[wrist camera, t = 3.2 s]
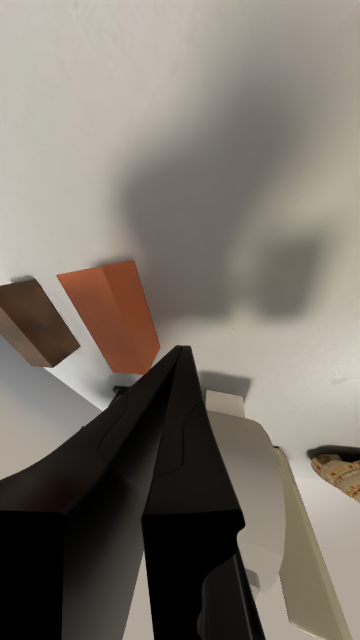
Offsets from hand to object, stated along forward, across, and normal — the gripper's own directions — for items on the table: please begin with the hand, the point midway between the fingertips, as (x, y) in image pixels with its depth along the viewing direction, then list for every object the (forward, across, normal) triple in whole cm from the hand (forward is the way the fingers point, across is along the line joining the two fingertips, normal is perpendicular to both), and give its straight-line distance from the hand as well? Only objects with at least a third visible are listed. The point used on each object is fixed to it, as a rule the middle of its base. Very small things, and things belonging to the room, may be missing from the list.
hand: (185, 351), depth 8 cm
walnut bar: (+6, +20, 0) cm, 21 cm away
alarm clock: (+6, -1, +21) cm, 22 cm away
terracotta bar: (+6, +7, 0) cm, 9 cm away
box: (+6, -10, +29) cm, 31 cm away
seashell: (+6, -19, +26) cm, 33 cm away
